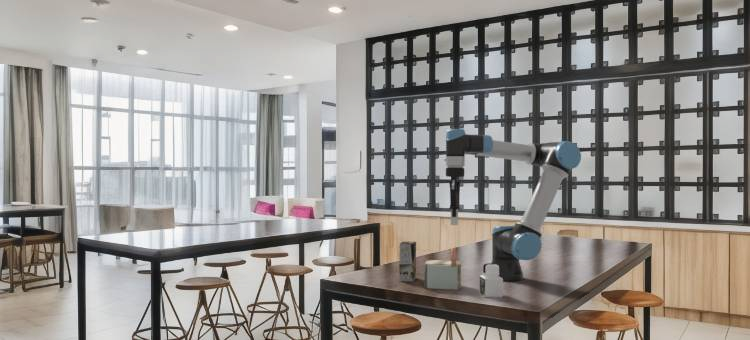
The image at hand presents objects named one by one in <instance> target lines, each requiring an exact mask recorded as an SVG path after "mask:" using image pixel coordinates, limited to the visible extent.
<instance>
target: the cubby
mask: <svg viewBox="0 0 750 340" xmlns="http://www.w3.org/2000/svg"><path fill="white" fill-rule="evenodd" d="M425 265H450V266H451V260H442V259H441V260H438V259H437V260H436V259H426V261H425V262H424V266H425ZM456 266H458V273H457V290H458V291H459V290H461V286H462V285H461V284H462V283H461V281H462V276H461V275H462V273H461V272H462V270H461V269H462V261H461V260H456ZM429 289H433V288H429ZM452 290H454V291H455V289H452ZM457 290H456V291H457Z"/></svg>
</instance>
